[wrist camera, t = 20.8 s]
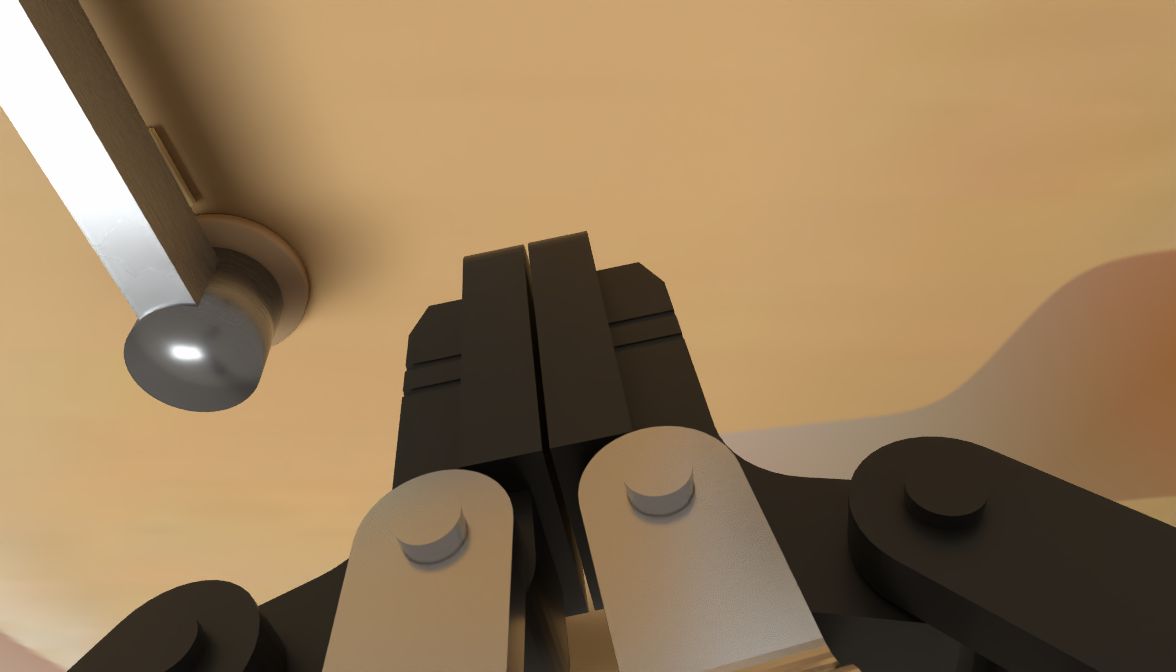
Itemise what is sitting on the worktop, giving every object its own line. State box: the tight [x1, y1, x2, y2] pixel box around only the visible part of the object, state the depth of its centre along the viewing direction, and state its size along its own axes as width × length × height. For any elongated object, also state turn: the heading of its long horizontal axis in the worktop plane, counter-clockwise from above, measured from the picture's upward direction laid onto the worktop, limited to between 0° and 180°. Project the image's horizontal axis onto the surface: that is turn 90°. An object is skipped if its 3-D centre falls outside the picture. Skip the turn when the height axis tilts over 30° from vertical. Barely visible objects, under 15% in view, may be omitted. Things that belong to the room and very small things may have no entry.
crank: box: [0, 0, 283, 412], centre depth 26 cm, size 18×5×4 cm, turn 11°
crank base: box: [148, 128, 309, 346], centre depth 31 cm, size 10×6×1 cm, turn 12°
